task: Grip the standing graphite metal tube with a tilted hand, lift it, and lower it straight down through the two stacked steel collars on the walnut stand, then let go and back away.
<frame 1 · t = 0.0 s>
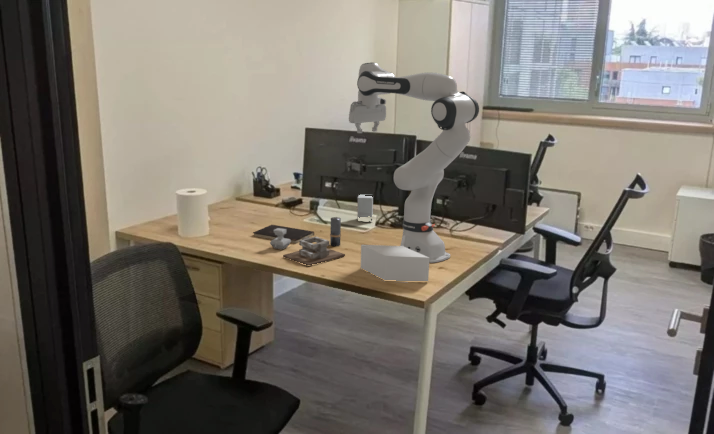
hand: (367, 132, 291), 48 cm above the table, tool pointing down, fingers open, 8 cm apart
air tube: (335, 244, 290), on the table
supplement box: (364, 220, 331), on the table
collar stand: (314, 256, 274), on the table
stamp: (280, 248, 284), on the table
grey wedge block: (393, 276, 254), on the table
hardcover book: (283, 237, 303), on the table
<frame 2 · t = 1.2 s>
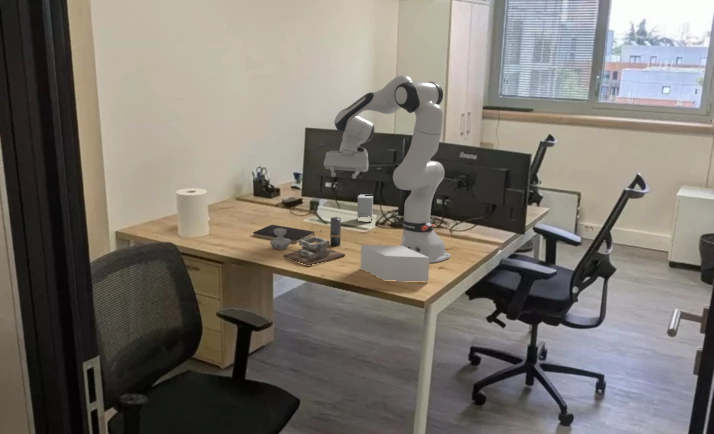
hand: (343, 177, 295), 28 cm above the table, tool tilted 45°, fingers open, 8 cm apart
nothing on the table moved.
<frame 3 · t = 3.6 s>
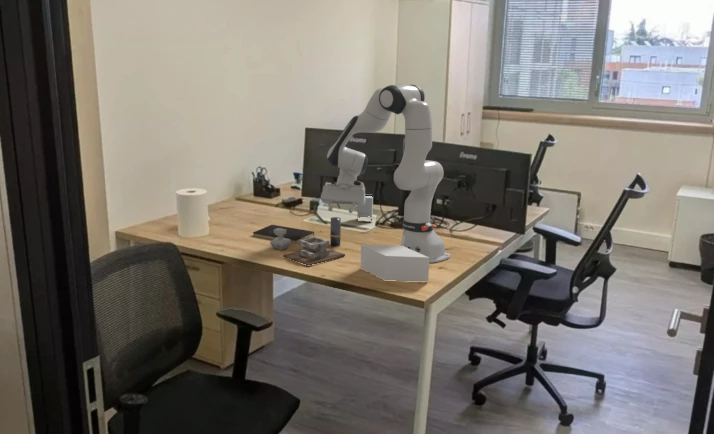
hand: (340, 211, 294), 13 cm above the table, tool tilted 45°, fingers open, 8 cm apart
nothing on the table moved.
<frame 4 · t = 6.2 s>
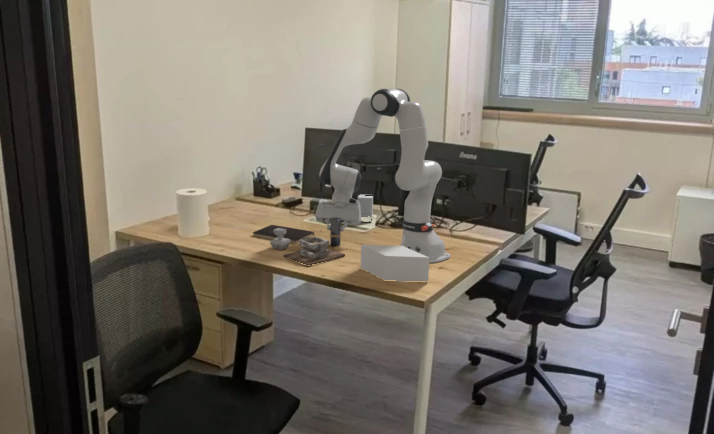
hand: (335, 230, 288), 7 cm above the table, tool tilted 45°, fingers closed on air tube, 4 cm apart
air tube: (335, 244, 290), on the table, touching gripper
everything else where it was.
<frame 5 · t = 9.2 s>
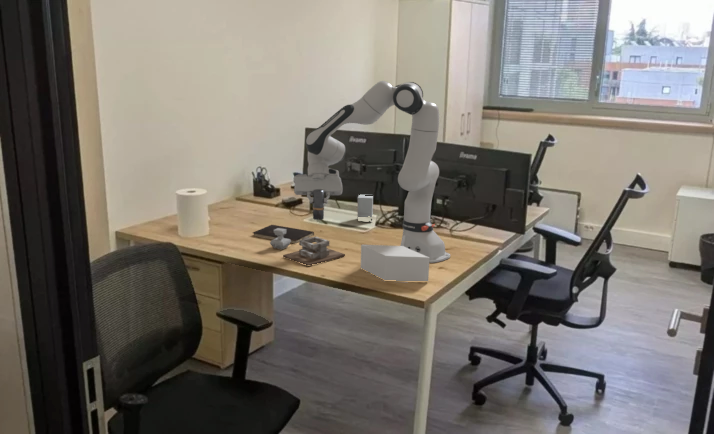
hand: (318, 202, 273), 22 cm above the table, tool tilted 45°, fingers closed on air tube, 4 cm apart
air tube: (318, 218, 276), point 15 cm above the table, touching gripper
everything else where it was.
when the fingers open (9 cm above the table, at t = 12.3 s): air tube drops 1 cm, resting on collar stand.
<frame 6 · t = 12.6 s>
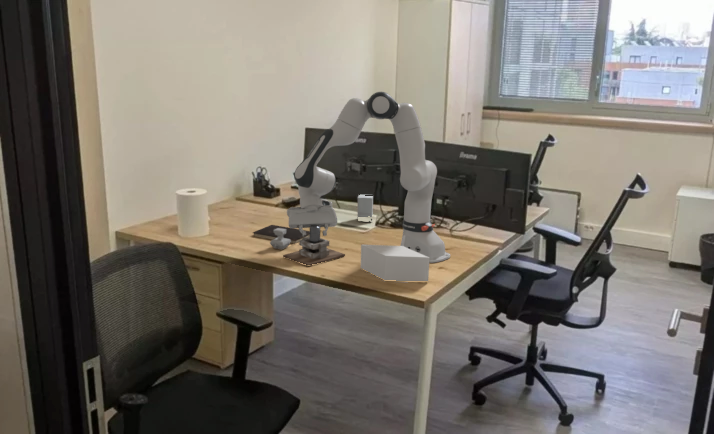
hand: (314, 235, 270), 9 cm above the table, tool tilted 45°, fingers open, 7 cm apart
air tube: (314, 254, 273), point 1 cm above the table, touching collar stand
everything else where it was.
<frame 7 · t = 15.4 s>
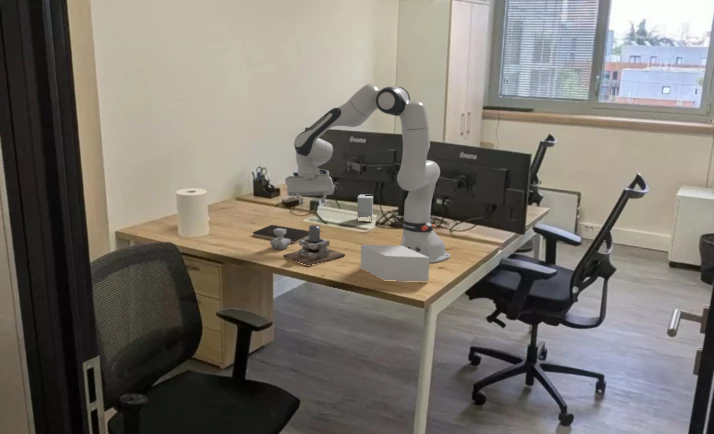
hand: (312, 202, 280), 20 cm above the table, tool tilted 45°, fingers open, 8 cm apart
nothing on the table moved.
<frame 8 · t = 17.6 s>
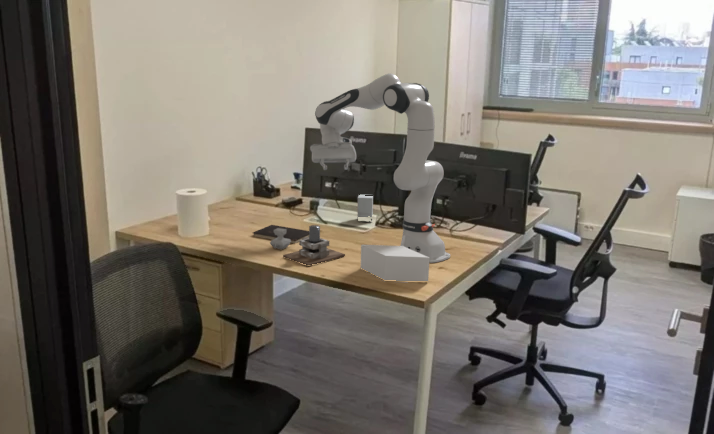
hand: (335, 169, 295), 31 cm above the table, tool tilted 45°, fingers open, 8 cm apart
nothing on the table moved.
at the end: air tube 0.1 cm off-centre on the collar stand, point 1.0 cm above the collar stand's base; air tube tilted 0°; the gripper is holding nothing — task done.
